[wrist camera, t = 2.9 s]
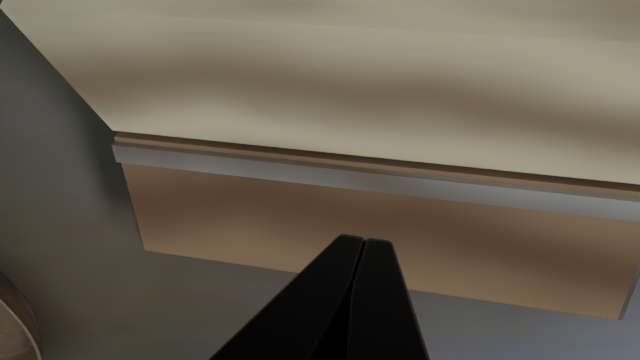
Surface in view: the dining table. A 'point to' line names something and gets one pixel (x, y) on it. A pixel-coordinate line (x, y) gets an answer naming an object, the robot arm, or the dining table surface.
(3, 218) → the dining table surface
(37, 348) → the saucer
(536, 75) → the click plank
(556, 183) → the floor base
